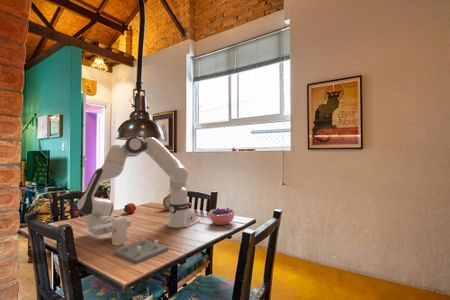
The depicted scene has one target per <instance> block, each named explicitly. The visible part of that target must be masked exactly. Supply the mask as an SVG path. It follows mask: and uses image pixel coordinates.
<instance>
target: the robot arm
mask: <svg viewBox="0 0 450 300" xmlns="http://www.w3.org/2000/svg"><path fill="white" fill-rule="evenodd" d="M142 153H145V154H146V155H148V156H149V157H150V158H151V160H153V161H154V162H155V164H156V165H158V166H159V168H161V170H162V171H163V172H164V173H166V175H167V176H168V177H169V190H170V191H169V194H170V204H169V209H168V210H169V213H168V214H169V215H168V220H167V225H166V226H167V227H169V228H189V227H192V226H194V225H196V224H197V223H199V222H200V221H201V220H200V219H199V218H197V214H196V212H195V211H194V210H193V209H191V208H190V206H191V207H192V202H188V187H187V180H188V178H189V171H188V169H187V167H185V166H184V165H183V164H182V163H181V162H180V161H179V160H178V159H177V158H176V157H175V156H174V155H173V153H172V152H170V150H168V148H167V147H165V145H164V144H163V143H162V142H160V141H159V140H158V139H156V138H155V137H152V136H149V137H147V138H146V139H145V138H142V137H139V136H138V135H137V136H136V135H134V136H130V137H128V138H127V139H126V141H125V143H124V144H122V145H120V144H113V145H112V146H110V148H109V150H108V152H107V154H106V157H105V159H104V162H103V164H102V165H101V167H100V168H97V169H96V170H95V171H94V173H93V175H92V176H91V178H90V180H89V182H88V185H87V187H86V189H85V190H84V192H83V194H82V196H81V198H80V199H79V200H78V201H77V205H76V208H77V211H78V213H79V214H80V215H82V216H85V215H86V216H85V219H84V223H85V226H86V227H88V229H87V231H88V232H90V233H91V234H92V235H93V236H97V237H99V236H103V235H105V234H109V233H111V234H112V233H114V232H116V229H115V228H113V229H112V219H114V218H118V217H122V216H121V215H116V216H115V215H113V216H111V215H112V213H113V210H114V203H113V201H112V200H111V198H103V197H95V194H96V192H97V190H98V188H99V186H100V184H101V183H102V182H103V181H104V180H109V179H113V178H116V177H118V176H121V174H122V172H123V171H124V167H125V164H126V160H127V158H128V157H132V158H133V157H137V156H139V155H141V154H142ZM130 227H132V220H131V219H130V218H127V227H126V230H128V228H130Z"/></svg>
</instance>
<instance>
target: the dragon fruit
mask: <svg viewBox="0 0 450 300" xmlns="http://www.w3.org/2000/svg"><path fill="white" fill-rule="evenodd" d="M136 210H137V206H136V204H134V203H127V204H126V205H124V208H123V212H124V213H126V214H128V215H130V214H134V213H135V211H136Z"/></svg>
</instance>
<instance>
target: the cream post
mask: <svg viewBox="0 0 450 300" xmlns="http://www.w3.org/2000/svg"><path fill="white" fill-rule="evenodd" d="M127 219H128V218H127V217H124V216H121V217H118V218H114V219H112V229H113V228H115V229H116V232H114V233H111V244H112V245H113V246H116V247H119V246H122V245H124V242H127V229H126V227H127ZM127 228H128V227H127Z"/></svg>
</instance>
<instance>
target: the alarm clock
mask: <svg viewBox="0 0 450 300" xmlns="http://www.w3.org/2000/svg"><path fill="white" fill-rule="evenodd" d="M168 192H170V189H169V190H168ZM169 204H170V193H168V195H166V196H165V197H164V198H163V201H162V205H163V207H164V211H166V210H170V209H169Z"/></svg>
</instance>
